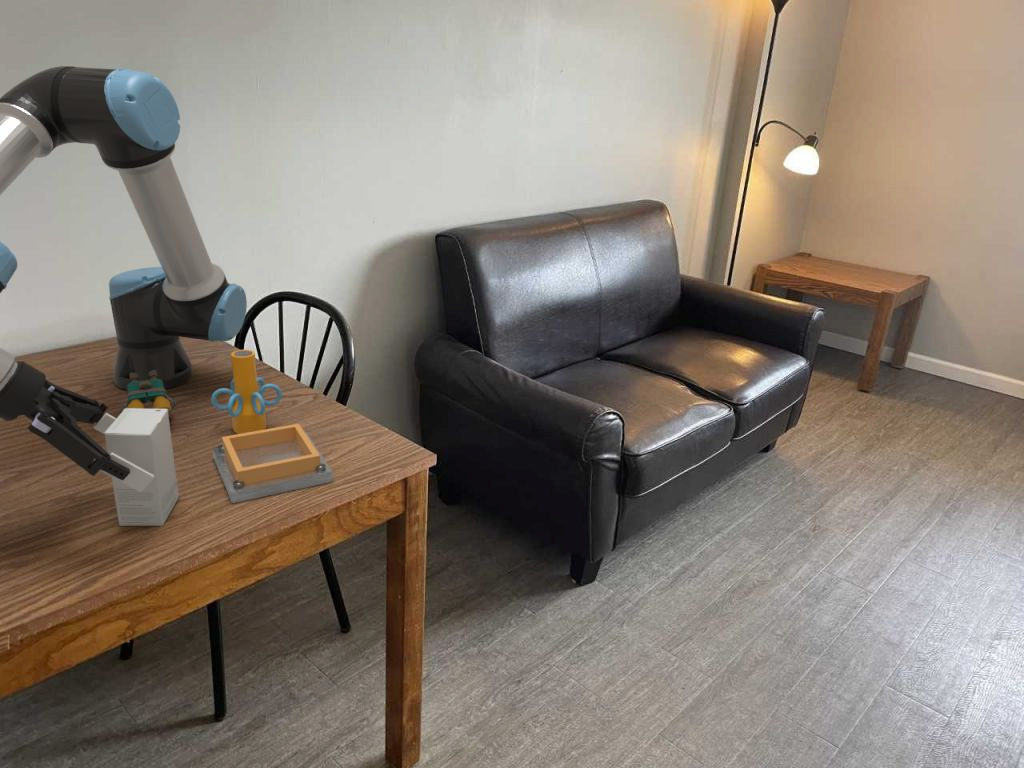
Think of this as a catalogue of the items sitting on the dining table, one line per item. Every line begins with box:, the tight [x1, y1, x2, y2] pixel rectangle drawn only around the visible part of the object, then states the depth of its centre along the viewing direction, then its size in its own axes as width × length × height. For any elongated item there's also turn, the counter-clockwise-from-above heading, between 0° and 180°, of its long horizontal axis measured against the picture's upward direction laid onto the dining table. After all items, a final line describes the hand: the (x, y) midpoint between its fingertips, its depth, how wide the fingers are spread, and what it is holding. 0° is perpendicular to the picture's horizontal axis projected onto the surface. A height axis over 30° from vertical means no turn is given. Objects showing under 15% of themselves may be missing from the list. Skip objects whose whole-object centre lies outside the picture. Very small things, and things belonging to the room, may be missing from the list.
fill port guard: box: [221, 423, 321, 485], centre depth 126 cm, size 13×13×2 cm
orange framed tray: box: [212, 430, 334, 504], centre depth 126 cm, size 16×16×3 cm
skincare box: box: [103, 407, 180, 527], centre depth 111 cm, size 8×7×16 cm
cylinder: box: [210, 349, 283, 434], centre depth 138 cm, size 12×10×15 cm
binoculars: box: [119, 370, 177, 424], centre depth 139 cm, size 9×9×10 cm
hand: (143, 462), depth 110 cm, fingers open, 13 cm apart
